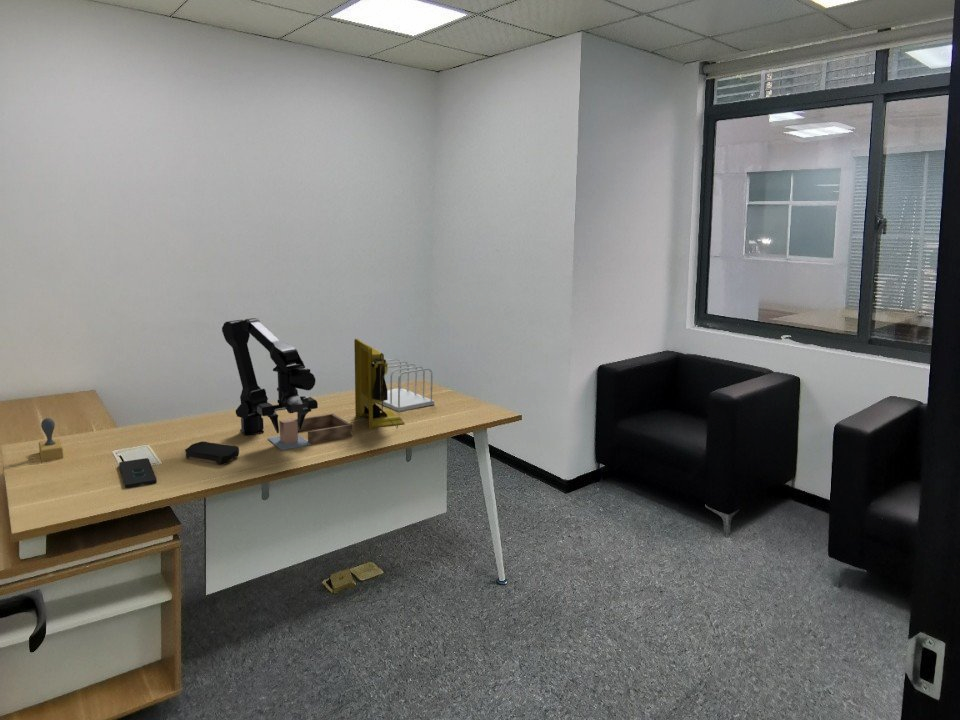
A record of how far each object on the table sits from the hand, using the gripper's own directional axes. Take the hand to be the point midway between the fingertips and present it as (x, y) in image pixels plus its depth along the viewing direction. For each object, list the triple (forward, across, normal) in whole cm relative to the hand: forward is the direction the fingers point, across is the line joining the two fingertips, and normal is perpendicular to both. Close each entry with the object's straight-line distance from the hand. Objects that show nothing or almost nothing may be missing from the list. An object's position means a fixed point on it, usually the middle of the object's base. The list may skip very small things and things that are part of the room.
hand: (288, 431), depth 230 cm
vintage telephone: (+4, +37, +5) cm, 38 cm away
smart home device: (+4, -47, -5) cm, 47 cm away
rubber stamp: (+4, -66, +26) cm, 71 cm away
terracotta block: (+3, 0, 0) cm, 3 cm away
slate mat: (+4, 0, 0) cm, 4 cm away
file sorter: (+4, +56, +26) cm, 62 cm away
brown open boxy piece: (+4, +12, +3) cm, 13 cm away
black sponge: (+4, -25, -2) cm, 26 cm away
